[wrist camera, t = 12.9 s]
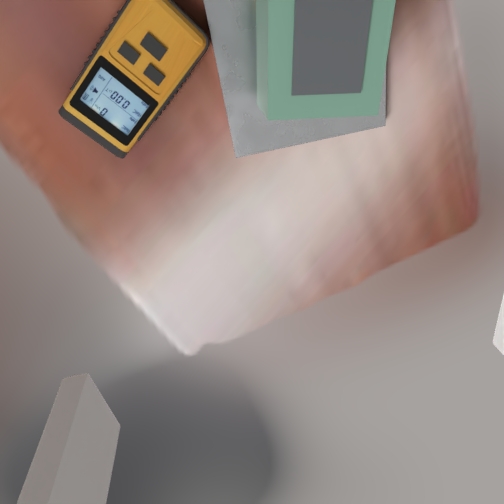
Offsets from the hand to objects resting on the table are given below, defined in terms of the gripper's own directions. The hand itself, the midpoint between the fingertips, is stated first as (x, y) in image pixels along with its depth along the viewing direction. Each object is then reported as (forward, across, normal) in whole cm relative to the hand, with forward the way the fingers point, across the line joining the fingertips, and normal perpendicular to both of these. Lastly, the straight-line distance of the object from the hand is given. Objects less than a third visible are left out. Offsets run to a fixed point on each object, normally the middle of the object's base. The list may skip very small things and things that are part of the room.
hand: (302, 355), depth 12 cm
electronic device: (+37, -8, +6) cm, 39 cm away
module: (+32, +9, +6) cm, 34 cm away
